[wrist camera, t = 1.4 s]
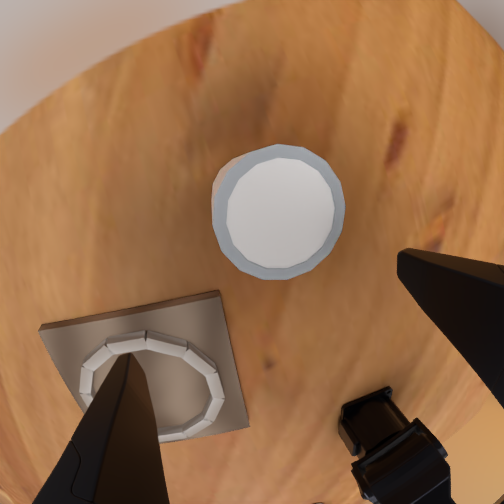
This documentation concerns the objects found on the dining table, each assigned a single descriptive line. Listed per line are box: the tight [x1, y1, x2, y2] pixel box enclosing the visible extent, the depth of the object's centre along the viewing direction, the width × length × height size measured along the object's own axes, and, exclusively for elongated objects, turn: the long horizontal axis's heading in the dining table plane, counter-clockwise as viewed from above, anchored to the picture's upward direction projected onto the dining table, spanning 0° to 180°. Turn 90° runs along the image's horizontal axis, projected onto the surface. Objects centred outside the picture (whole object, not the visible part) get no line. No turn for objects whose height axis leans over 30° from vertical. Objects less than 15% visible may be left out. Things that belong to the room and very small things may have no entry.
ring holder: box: [38, 291, 250, 444], centre depth 24 cm, size 15×15×2 cm
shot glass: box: [211, 144, 346, 280], centre depth 18 cm, size 7×7×7 cm
